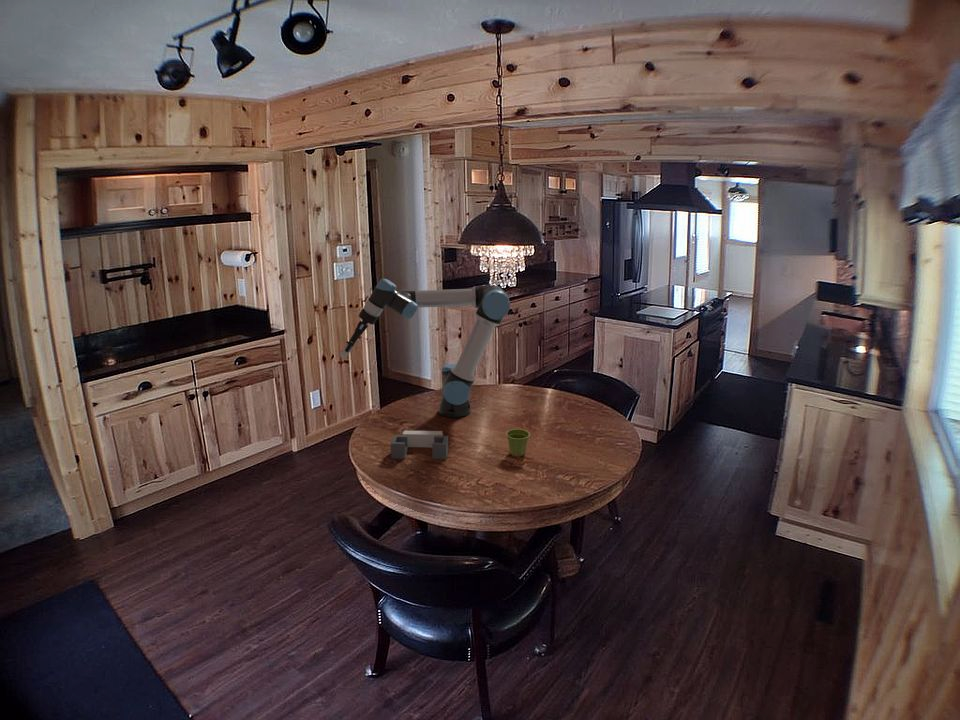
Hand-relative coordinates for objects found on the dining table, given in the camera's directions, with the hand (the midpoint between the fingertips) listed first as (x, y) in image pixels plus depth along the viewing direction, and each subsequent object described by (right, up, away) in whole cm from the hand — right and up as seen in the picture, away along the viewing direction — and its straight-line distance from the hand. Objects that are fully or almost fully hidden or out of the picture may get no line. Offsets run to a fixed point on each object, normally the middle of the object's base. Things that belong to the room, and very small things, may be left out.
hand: (345, 353), depth 255 cm
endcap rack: (+34, -41, -16) cm, 55 cm away
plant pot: (+73, -41, -15) cm, 85 cm away
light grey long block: (+34, -39, -8) cm, 52 cm away
